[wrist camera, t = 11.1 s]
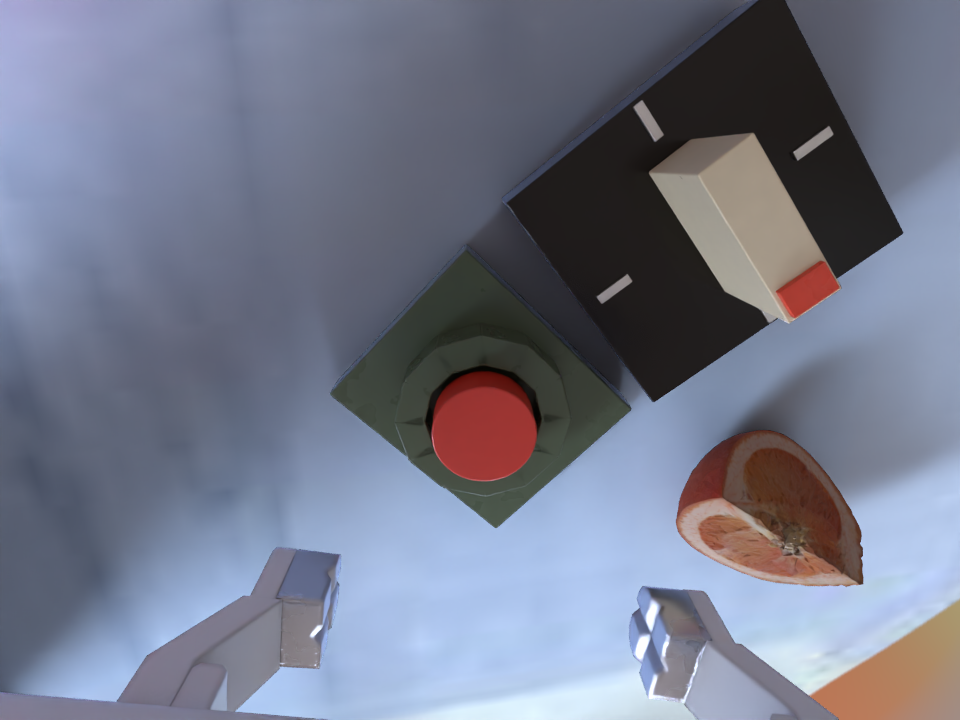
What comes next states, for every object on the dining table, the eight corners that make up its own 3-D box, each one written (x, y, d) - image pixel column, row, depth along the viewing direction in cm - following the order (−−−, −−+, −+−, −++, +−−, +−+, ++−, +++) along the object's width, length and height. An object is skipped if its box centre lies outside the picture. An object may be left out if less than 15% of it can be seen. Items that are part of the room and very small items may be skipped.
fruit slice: (844, 474, 28) (922, 538, 23) (750, 567, 29) (804, 644, 25) (720, 386, 26) (776, 436, 21) (627, 490, 28) (660, 558, 23)
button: (552, 414, 23) (559, 434, 21) (484, 477, 24) (485, 500, 22) (482, 350, 22) (483, 365, 20) (413, 418, 23) (409, 438, 21)
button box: (622, 394, 26) (645, 428, 23) (494, 508, 28) (497, 555, 24) (465, 243, 23) (465, 256, 20) (337, 380, 25) (317, 412, 22)
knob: (647, 172, 20) (700, 175, 15) (691, 138, 19) (758, 131, 15) (724, 292, 21) (793, 326, 17) (766, 263, 21) (848, 290, 16)
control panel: (633, 376, 26) (654, 404, 23) (500, 198, 23) (505, 203, 20) (852, 224, 23) (908, 234, 20) (735, 8, 21) (780, -18, 18)
